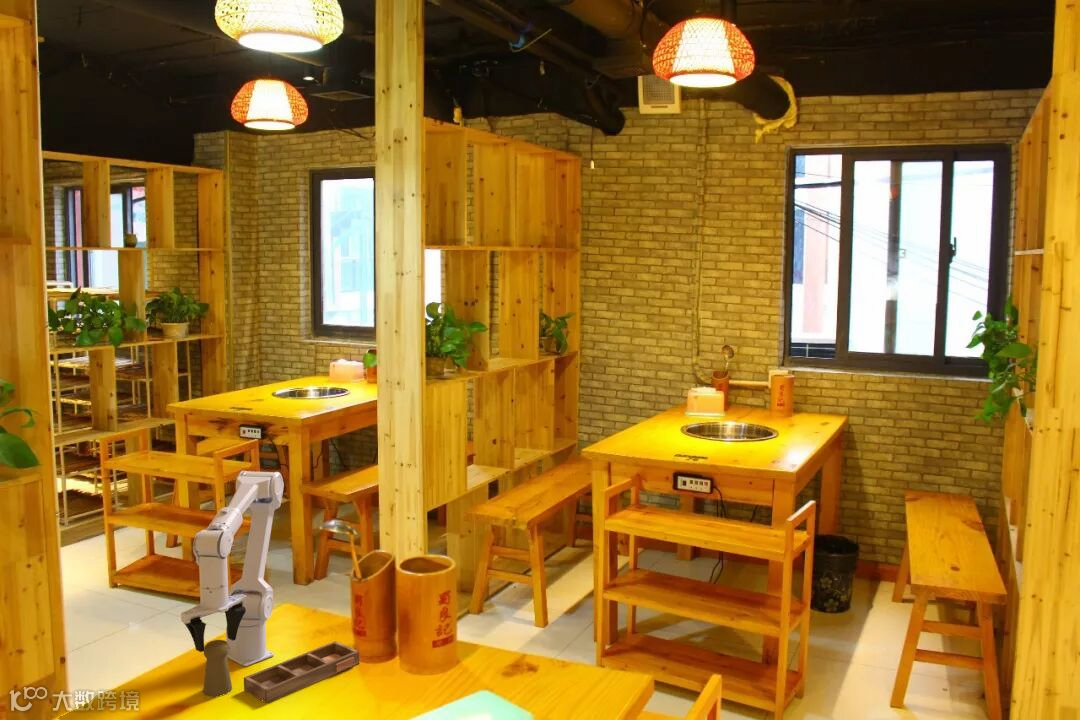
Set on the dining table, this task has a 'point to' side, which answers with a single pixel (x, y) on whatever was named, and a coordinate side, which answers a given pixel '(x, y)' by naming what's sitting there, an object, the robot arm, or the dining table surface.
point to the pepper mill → (216, 669)
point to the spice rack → (300, 671)
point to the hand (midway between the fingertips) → (216, 644)
